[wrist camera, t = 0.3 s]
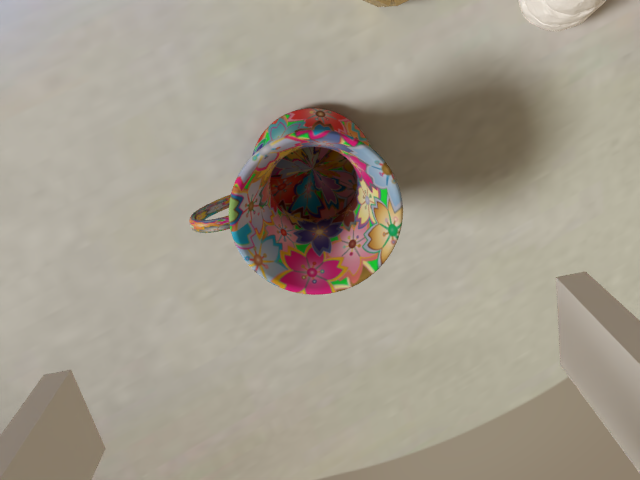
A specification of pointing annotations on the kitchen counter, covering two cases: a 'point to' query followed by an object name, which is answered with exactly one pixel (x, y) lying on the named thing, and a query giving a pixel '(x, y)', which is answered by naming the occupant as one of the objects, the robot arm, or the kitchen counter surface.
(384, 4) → the ring
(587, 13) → the garlic bulb
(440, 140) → the kitchen counter surface
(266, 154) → the mug
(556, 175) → the kitchen counter surface
